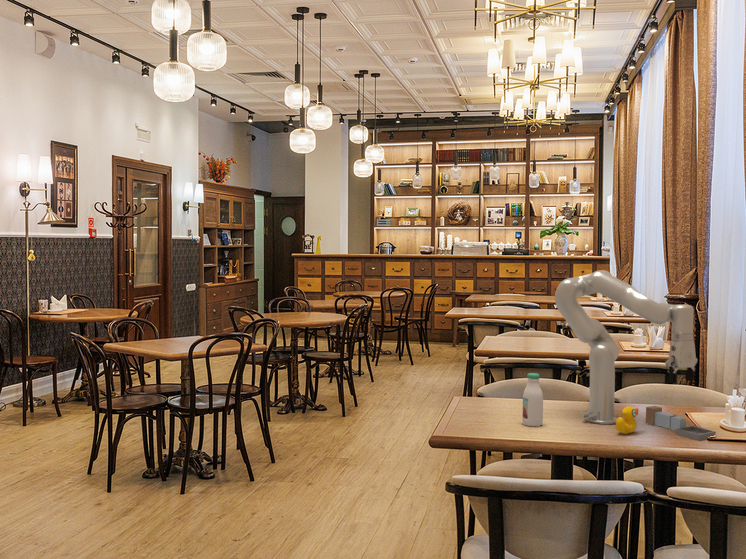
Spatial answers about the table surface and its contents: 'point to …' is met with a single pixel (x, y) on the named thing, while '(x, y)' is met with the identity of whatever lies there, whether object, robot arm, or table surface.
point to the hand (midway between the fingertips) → (681, 382)
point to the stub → (677, 422)
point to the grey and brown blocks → (658, 417)
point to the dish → (694, 432)
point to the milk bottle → (533, 402)
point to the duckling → (627, 420)
